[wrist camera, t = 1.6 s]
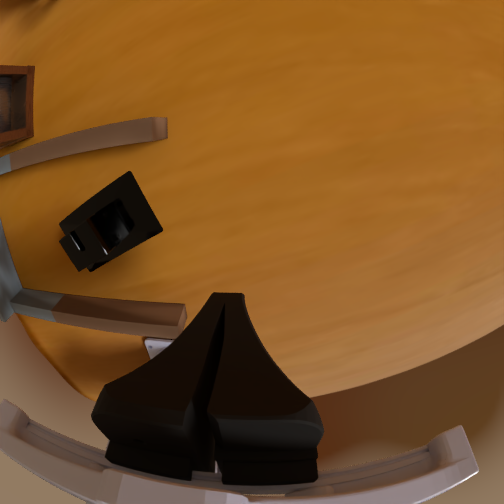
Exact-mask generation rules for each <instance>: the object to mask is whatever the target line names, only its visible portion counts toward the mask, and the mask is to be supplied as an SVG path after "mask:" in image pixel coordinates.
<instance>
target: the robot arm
mask: <svg viewBox="0 0 504 504" xmlns="http://www.w3.org/2000/svg"><path fill="white" fill-rule="evenodd" d="M145 345H146V348H147V351H148V354H149V356H150V359H151V360H150V361H148V362H147V363H145V364H144V365H142V366H141V367H139V368H137V369H136V370H134V371H132V372H130V373H129V374H127V375H125V376H123V377H121V378H119V379H116V380H114V381H112V382H110V383H108V384H105V386H104V388H103V389H102V391H101V393H100V395H99V397H98V399H97V402H96V404H95V407H94V409H93V411H92V414H91V417H92V420H93V422H94V423H95V425H96V426H97V427H98V429H99V430H101V432H102V433H103V434H104V435H105V436H106V437H107V438H108V439H109V440H108V444H107V447H106V451H104V450H101V449H98V448H95V447H92V446H89V445H87V444H84V443H81V442H79V441H76V440H74V439H71V438H69V437H67V436H64V435H62V434H60V433H57V432H55V431H53V430H51V429H49V428H47V427H45V426H43V425H41V424H39V423H37V422H35V421H33V420H31V419H30V418H29V417H28V416H27V415H26V413H25V412H24V411H23V410H21V409H20V408H19V407H17V406H16V405H14V404H12V403H11V402H9V401H8V400H6V399H3V401H2V403H1V404H0V450H1V451H2V452H4V453H5V454H6V455H7V456H9V457H10V458H11V459H13V460H14V461H16V462H17V463H18V464H20V465H22V466H23V467H24V468H26V469H27V470H29V471H30V472H32V473H33V474H35V475H37V476H39V477H40V478H42V479H43V480H45V481H47V482H49V483H50V484H52V485H54V486H56V487H58V488H59V489H61V490H63V491H65V492H67V493H69V494H71V495H73V496H75V497H77V498H80V499H82V500H84V501H86V504H420V503H422V502H424V501H427V500H429V499H431V498H433V497H435V496H437V495H439V494H442V493H444V492H445V491H447V490H449V489H451V488H453V487H455V486H456V485H458V484H460V483H462V482H463V481H465V480H467V479H468V478H470V477H471V476H473V475H475V474H476V473H478V471H479V469H478V466H477V463H476V460H475V458H474V455H473V452H472V449H471V447H470V444H469V442H468V439H467V437H466V434H465V432H464V429H463V427H462V425H459V426H457V427H454V428H452V429H450V430H448V431H445V432H443V433H441V434H439V435H437V436H436V437H434V438H433V439H432V440H431V441H430V442H429V443H428V444H427V445H424V446H422V447H419V448H416V449H413V450H410V451H407V452H404V453H401V454H397V455H394V456H390V457H387V458H383V459H379V460H375V461H371V462H367V463H362V464H358V465H353V466H348V467H342V468H336V469H330V470H322V471H318V470H317V463H316V459H317V458H318V453H317V445H318V444H319V442H320V440H321V438H322V436H323V433H324V428H323V424H322V421H321V418H320V415H319V413H318V411H317V408H316V406H315V404H314V403H313V401H312V400H311V399H310V398H309V397H308V396H306V395H305V394H304V393H303V392H302V391H301V390H300V389H299V388H297V387H296V386H295V385H294V384H293V383H292V382H291V381H290V380H289V379H288V377H287V376H286V375H285V374H284V373H283V372H282V370H281V369H280V368H279V367H278V366H277V365H276V363H275V362H274V361H273V359H272V358H271V357H270V355H269V354H268V352H267V351H266V349H265V348H264V346H263V344H262V343H261V341H260V339H259V337H258V335H257V333H256V331H255V329H254V327H253V325H252V322H251V320H250V318H249V315H248V312H247V309H246V305H245V297H244V294H242V293H216V292H214V293H212V294H211V296H210V297H209V299H208V300H207V302H206V303H205V305H204V306H203V308H202V309H201V310H200V312H199V313H198V314H197V315H196V317H195V318H194V319H193V320H192V322H191V323H190V324H189V325H188V326H187V327H186V328H185V330H184V331H183V332H182V333H181V334H180V335H179V336H178V337H177V338H176V339H175V340H165V339H154V338H146V339H145ZM243 494H285V497H273V496H272V497H271V496H250V495H243Z"/></svg>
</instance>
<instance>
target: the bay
mask: <svg viewBox="0 0 504 504" xmlns="http://www.w3.org/2000/svg"><path fill="white" fill-rule="evenodd" d="M166 138H168V135H167V118H161V117H149V118H143V119H136V120H130V121H124V122H119V123H114V124H109V125H104V126H99V127H95V128H90V129H86V130H82V131H78V132H74V133H70V134H67V135H63V136H60V137H56V138H53V139H50V140H47V141H43V142H40V143H37V144H34V145H32V146H29V147H26V148H23V149H20V150H18V151H15V152H13V153H10V154H8V155H5V156H3V157H0V174H3V173H6V172H9V171H12V170H15V169H18V168H22V167H25V166H28V165H32V164H35V163H39V162H43V161H46V160H50V159H54V158H58V157H63V156H67V155H71V154H76V153H81V152H85V151H91V150H96V149H101V148H107V147H113V146H119V145H126V144H133V143H141V142H149V141H156V140H161V139H166ZM14 312H15V313H19V314H23V315H27V316H31V317H35V318H39V319H44V320H48V321H53V322H58V323H62V324H67V325H73V326H78V327H84V328H89V329H95V330H102V331H108V332H115V333H123V334H130V335H139V336H147V337H157V338H168V339H176V338H177V337H178V336H179V335H180V334H181V333H182V332H183V329H184V325H185V322H186V319H187V314H186V308H185V304H173V303H156V302H141V301H128V300H116V299H105V298H95V297H86V296H77V295H68V294H60V293H53V292H45V291H38V290H31V289H25V288H22V285H21V283H20V280H19V278H18V275H17V272H16V270H15V267H14V264H13V261H12V258H11V255H10V252H9V248H8V245H7V242H6V238H5V235H4V231H3V227H2V223H1V219H0V319H1V321H3V322H6V321H7V320H8V319H9V317H10V316H11V315H12V314H13V313H14Z"/></svg>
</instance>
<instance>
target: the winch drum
mask: <svg viewBox="0 0 504 504" xmlns="http://www.w3.org/2000/svg"><path fill="white" fill-rule="evenodd" d="M34 71H35V66H8V65H0V149H2V148H5V147H8V146H10V145H12V144H15V143H17V142H20V141H22V140H25V139H27V138H30V137H32V136H34V133H33V85H34Z"/></svg>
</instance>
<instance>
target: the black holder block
mask: <svg viewBox="0 0 504 504" xmlns="http://www.w3.org/2000/svg"><path fill="white" fill-rule="evenodd" d="M59 225H60V227H61V229H62V230H63V232H64V234H65V235H66V236H64V237H63V238H62V239H61V240H60V241H59V242H60V244H61V245H62V247H63V249H64V250H65V252H66V253H67V255H68V256H69V258H70V259H71V261H72V262H73V264H74V265H75V267H76V268H77V270H78V271H79V272H80V271H81V270H83V269H84V268H86V267H87V269H88V270H89V271H90V272H92V271H94V270H95V269H97V268H99V267H100V266H102V265H104V264H106V263H107V262H109V261H111V260H112V259H114V258H116V257H118V256H119V255H121V254H123V253H124V252H126V251H128V250H130V249H132V248H133V247H135V246H137V245H139V244H140V243H142V242H144V241H146V240H148V239H150V238H151V237H153V236H155V235H157V234H159V233H161V232H162V231H163V228H162V227H161V225H160V223H159V221H158V220H157V218H156V216H155V214H154V213H153V211H152V209H151V207H150V205H149V204H148V202H147V200H146V198H145V196H144V195H143V193H142V191H141V189H140V187H139V185H138V184H137V182H136V180H135V178H134V176H133V174H132V172H131V171H128V172H127V173H125V174H124V175H122V176H121V177H119V178H118V179H116V180H115V181H113V182H112V183H111V184H109V185H108V186H106V187H105V188H104V189H102V190H101V191H99V192H98V193H97V194H95V195H94V196H93V197H91V198H90V199H89V200H87V201H86V202H85V203H83V204H82V205H81V206H80V207H78V208H77V209H76V210H75V211H73V212H72V213H71V214H70V215H68V216H67V217H66V218H65V219H64V220H62V221H61V222H60V223H59Z"/></svg>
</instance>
